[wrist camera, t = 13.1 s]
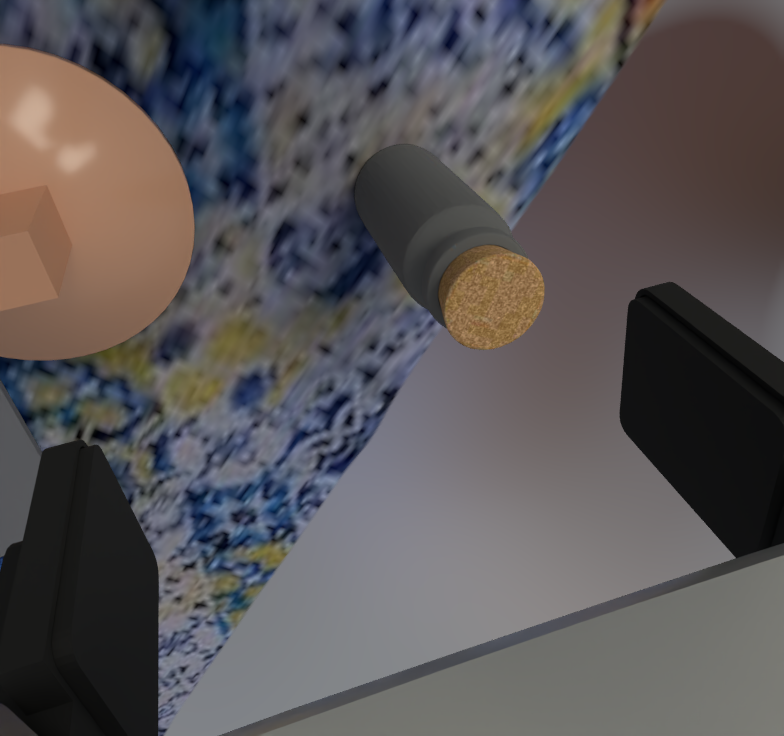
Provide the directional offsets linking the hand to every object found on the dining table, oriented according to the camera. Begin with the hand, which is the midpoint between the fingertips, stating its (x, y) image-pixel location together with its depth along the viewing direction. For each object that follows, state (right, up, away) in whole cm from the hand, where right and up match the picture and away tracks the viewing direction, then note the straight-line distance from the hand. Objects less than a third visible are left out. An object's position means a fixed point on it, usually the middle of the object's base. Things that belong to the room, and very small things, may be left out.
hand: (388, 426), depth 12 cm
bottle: (0, +12, +30) cm, 33 cm away
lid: (-18, +9, +23) cm, 31 cm away
